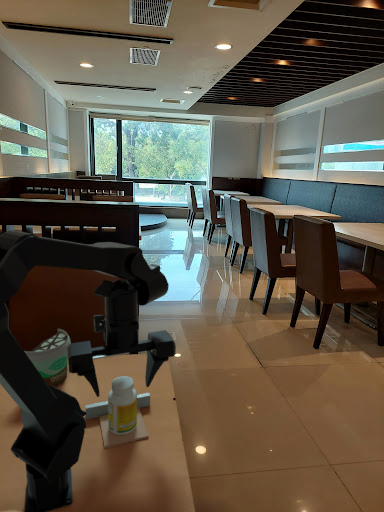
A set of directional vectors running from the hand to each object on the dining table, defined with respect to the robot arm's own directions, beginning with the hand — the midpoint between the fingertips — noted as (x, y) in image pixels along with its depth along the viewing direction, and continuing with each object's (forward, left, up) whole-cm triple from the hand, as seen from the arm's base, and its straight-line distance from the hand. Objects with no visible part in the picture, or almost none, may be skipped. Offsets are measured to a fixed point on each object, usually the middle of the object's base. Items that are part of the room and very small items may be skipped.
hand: (123, 390), depth 64 cm
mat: (0, 0, -8) cm, 8 cm away
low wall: (+5, 0, -8) cm, 9 cm away
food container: (+20, +12, -8) cm, 25 cm away
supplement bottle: (0, 0, -8) cm, 8 cm away
